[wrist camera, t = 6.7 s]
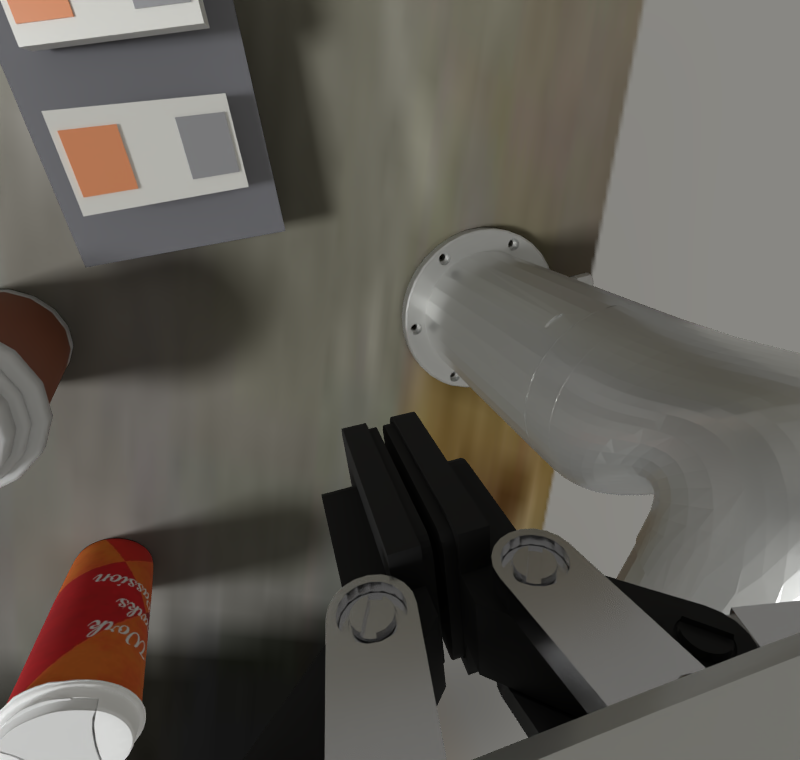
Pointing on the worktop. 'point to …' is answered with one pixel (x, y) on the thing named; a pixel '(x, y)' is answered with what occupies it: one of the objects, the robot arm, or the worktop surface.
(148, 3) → the rocker middle
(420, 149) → the worktop surface
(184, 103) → the plate
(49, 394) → the coffee cup
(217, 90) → the rocker switch panel
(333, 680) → the robot arm
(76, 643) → the paper cup
